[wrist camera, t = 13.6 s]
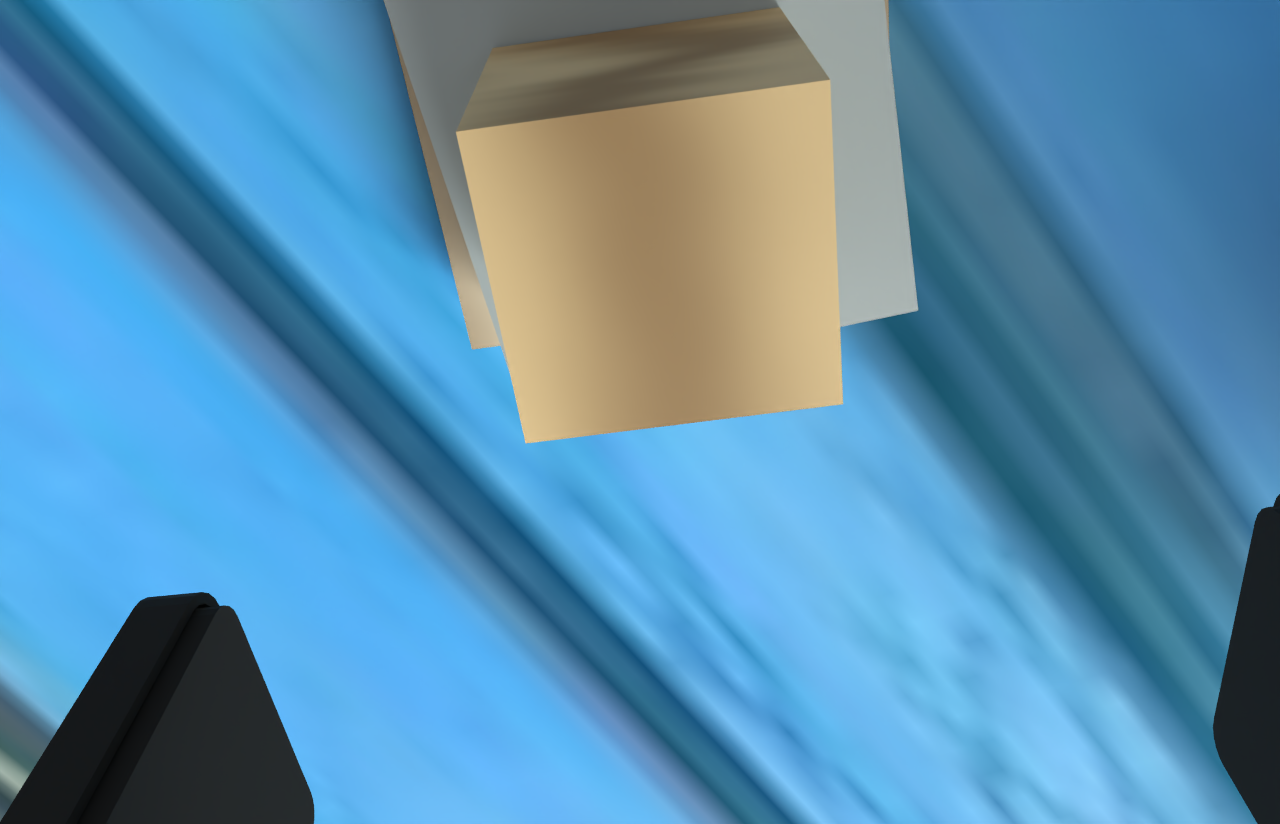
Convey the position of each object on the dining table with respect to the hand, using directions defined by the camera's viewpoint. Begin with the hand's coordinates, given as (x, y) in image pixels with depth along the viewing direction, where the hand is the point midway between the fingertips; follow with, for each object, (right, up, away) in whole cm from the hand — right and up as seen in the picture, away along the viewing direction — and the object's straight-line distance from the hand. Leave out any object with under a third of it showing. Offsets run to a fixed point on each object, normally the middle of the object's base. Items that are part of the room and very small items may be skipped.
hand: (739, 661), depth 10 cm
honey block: (-1, +8, +14) cm, 16 cm away
